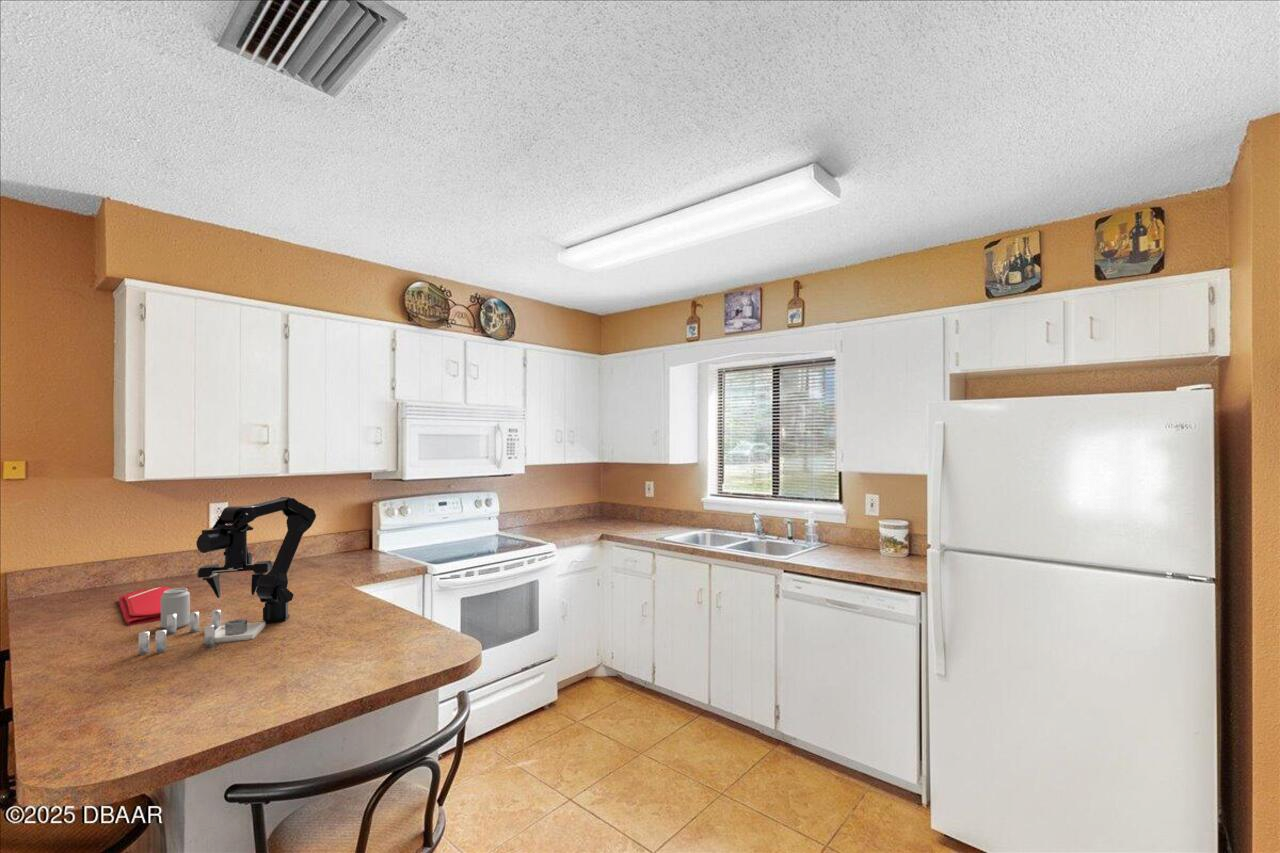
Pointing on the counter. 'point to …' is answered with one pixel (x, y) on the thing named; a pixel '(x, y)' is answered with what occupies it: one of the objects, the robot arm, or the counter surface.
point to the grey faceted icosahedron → (236, 627)
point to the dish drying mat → (142, 605)
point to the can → (175, 606)
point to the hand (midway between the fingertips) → (236, 596)
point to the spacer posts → (172, 629)
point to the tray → (249, 634)
